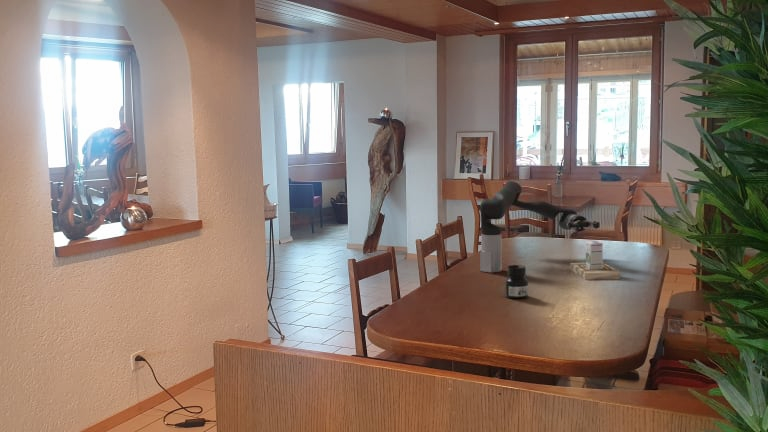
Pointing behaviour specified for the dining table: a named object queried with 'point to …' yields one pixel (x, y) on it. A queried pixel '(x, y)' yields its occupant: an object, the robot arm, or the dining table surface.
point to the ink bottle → (516, 282)
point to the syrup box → (594, 255)
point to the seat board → (595, 272)
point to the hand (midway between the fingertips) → (587, 226)
